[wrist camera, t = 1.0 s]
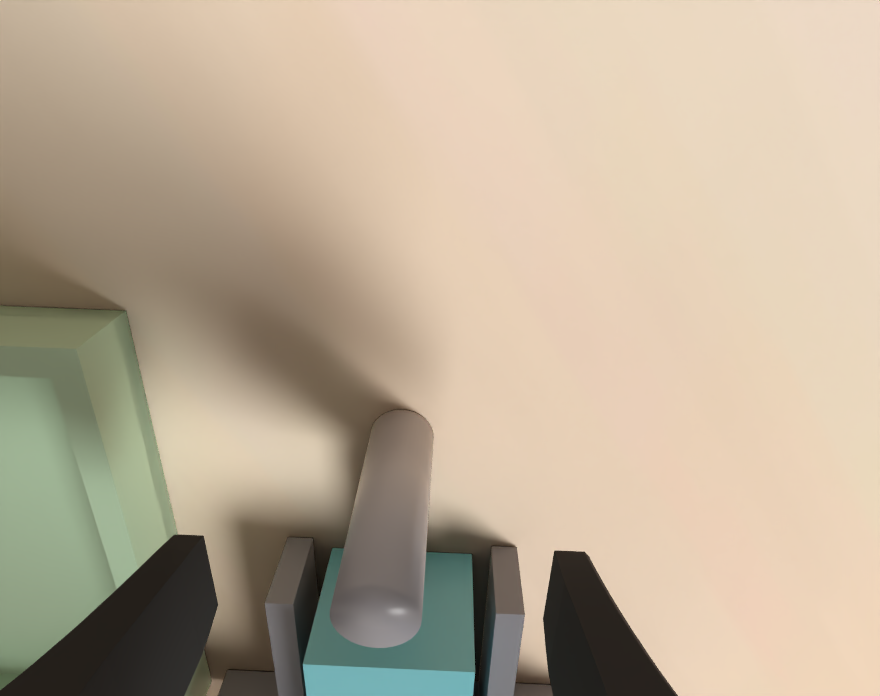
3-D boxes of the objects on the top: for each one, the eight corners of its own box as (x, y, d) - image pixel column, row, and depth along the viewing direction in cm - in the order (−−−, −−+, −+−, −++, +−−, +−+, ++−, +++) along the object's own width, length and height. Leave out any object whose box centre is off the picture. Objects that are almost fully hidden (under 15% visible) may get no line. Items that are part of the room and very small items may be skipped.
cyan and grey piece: (462, 672, 21) (464, 879, 16) (341, 667, 21) (302, 871, 16) (482, 412, 16) (494, 590, 11) (322, 406, 16) (255, 579, 11)
